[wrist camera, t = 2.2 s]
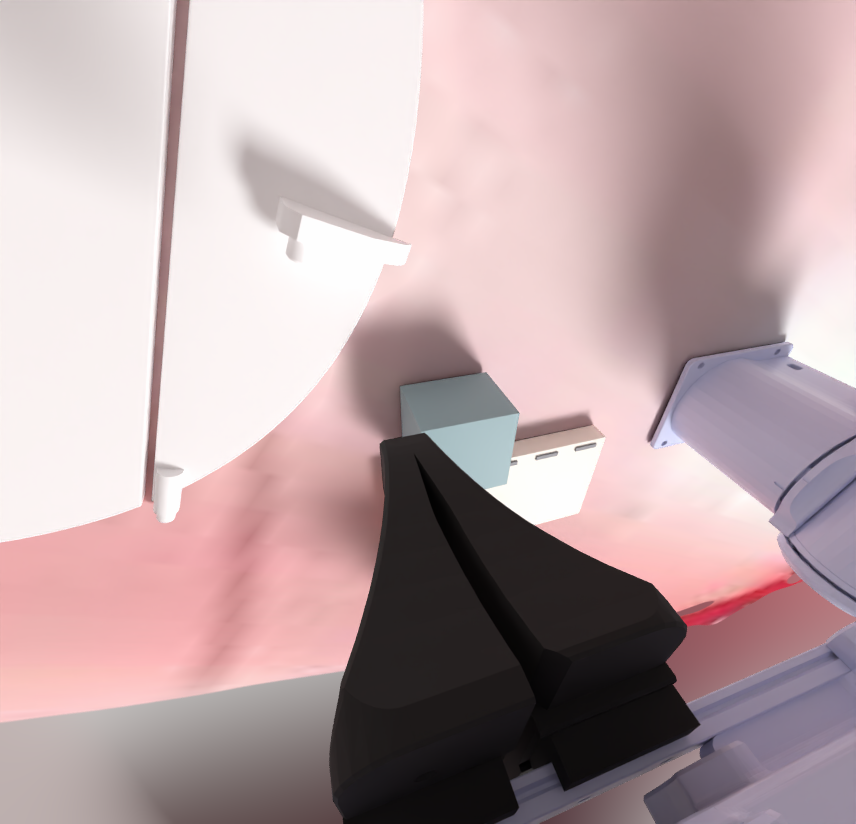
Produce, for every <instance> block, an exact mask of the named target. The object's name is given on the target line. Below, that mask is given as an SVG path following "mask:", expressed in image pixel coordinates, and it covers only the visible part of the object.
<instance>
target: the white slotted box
mask: <svg viewBox="0 0 856 824" xmlns="http://www.w3.org/2000/svg"><path fill="white" fill-rule="evenodd" d="M605 438H606V437H605V436H604V435H603V434H602V433H601V432H600V431H599V430H598V429H597V428H596V427H595V426H594V425H590V426H586V427H581V428H576V429H571V430H567V431H562V432H557V433H552V434H547V435H543V436H538V437H533V438H528V439H524V440H519V441H514V447H513V452H512V458H511V463H510V469H509V475H508V480H507V484H505V485H501V486H497V487H493V488H489V489H485V490H486V491H487V492H489V493H490V494H491V495H492V496H494V497H495V498H496V499H497V500H499V501H500V502H501V503H503V504H504V505H505V506H507V507H508V508H510V509H511V510H512V511H514V512H515V513H517V514H518V515H520V516H521V517H522V518H524V519H525V520H527V521H528V522H530V523H532V524H533V525H536V524H540V523H544V522H548V521H551V520H555V519H559V518H562V517H566V516H570V515H574V514H577V513H579V511H580V508H581V505H582V503H583V500H584V497H585V494H586V491H587V489H588V486H589V483H590V480H591V477H592V475H593V472H594V469H595V466H596V463H597V461H598V458H599V455H600V452H601V449H602V447H603V444H604V441H605Z"/></svg>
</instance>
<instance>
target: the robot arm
mask: <svg viewBox="0 0 856 824" xmlns="http://www.w3.org/2000/svg"><path fill="white" fill-rule="evenodd" d="M792 349H793V344H792V343H789V342H783V343H778V344H772V345H766V346H760V347H755V348H749V349H743V350H738V351H732V352H726V353H720V354H715V355H709V356H703V357H697V358H693V359H691V360H689V361H688V362H687V363H686V365H685V367H684V370H683V372H682V374H681V376H680V378H679V381H678V383H677V385H676V387H675V390H674V392H673V394H672V396H671V398H670V401H669V403H668V405H667V407H666V410H665V412H664V414H663V416H662V419H661V421H660V423H659V425H658V427H657V430H656V432H655V434H654V436H653V439H652V441H651V444H650V445H651V447H652V448H654V449H659V448H663V447H667V446H671V445H675V444H680V443H684V442H685V443H686V444H688V445H689V446H690V447H691V448H693V449H694V450H695V451H696V452H698V453H699V454H700V455H701V456H703V457H704V458H705V459H706V460H708V461H709V462H710V463H711V464H713V465H714V466H715V467H716V468H718V469H719V470H720V471H721V472H723V473H724V474H725V475H726V476H728V477H729V478H730V479H731V480H733V481H734V482H735V483H736V484H738V485H739V486H740V487H741V488H743V489H744V490H745V491H746V492H748V493H749V494H750V495H751V496H753V497H754V498H755V499H756V500H758V501H759V502H760V503H761V504H763V505H764V506H765V507H766V508H768V509H769V510H770V511H771V512H773V513H774V516H773V517H772V518H771V519H770V520H769V522H770V523H771V524H772V525H773V526H774V527H776V528H777V529H778V530H779V531H780V533H779V535H778V537H777V541H778V544H779V547H780V549H781V552H782V555H783V557H784V559H785V560H786V562H787V563H788V565H789V566H790V567H791V568H792V570H793V571H794V572H795V573H796V574H797V575H798V576H799V577H800V578H801V579H802V580H803V581H804V582H805V583H807V584H808V585H809V586H810V587H811V588H812V589H813V590H815V591H816V592H817V593H818V594H820V595H821V596H822V597H824V598H825V599H826V600H828V601H829V602H831V603H832V604H834V605H835V606H837V607H838V608H840V609H841V610H843V611H845V612H846V613H848V614H850V615H852V616H854V617H856V388H854V387H851V386H849V385H847V384H845V383H843V382H841V381H839V380H837V379H835V378H832V377H830V376H828V375H826V374H824V373H822V372H820V371H818V370H816V369H813V368H811V367H809V366H807V365H805V364H803V363H801V362H799V361H796V360H794V359H792V358H790V357H788V355H789V354H790V352H791V350H792ZM380 455H381V467H382V479H383V489H384V494H385V500H384V511H383V521H382V529H381V536H380V543H379V548H378V554H377V559H376V564H375V568H374V573H373V578H372V582H371V586H370V591H369V594H368V598H367V602H366V605H365V609H364V612H363V616H362V620H361V623H360V627H359V630H358V633H357V637H356V640H355V643H354V646H353V649H352V652H351V655H350V658H349V661H348V664H347V667H346V669H345V673H344V676H343V678H342V681H341V686H340V692H339V699H338V703H337V709H336V714H335V719H334V724H333V730H332V736H331V744H330V758H329V761H330V762H329V766H330V776H331V786H332V795H333V802H334V803H335V805H336V807H337V808H338V810H339V812H340V813H341V815H342V817H343V824H539V823H540V822H543V821H545V820H547V819H549V818H551V817H553V816H555V815H558V814H560V813H562V812H564V811H566V810H568V809H570V808H572V807H574V806H577V805H579V804H581V803H583V802H585V801H587V800H589V799H591V798H594V797H595V796H598V795H600V794H602V793H604V792H606V791H608V790H610V789H613V788H615V787H617V786H619V785H621V784H623V783H625V782H627V781H629V780H632V779H634V778H636V777H638V776H640V775H642V774H644V773H646V772H648V771H651V770H653V769H655V768H657V767H659V766H661V765H663V764H665V763H667V762H670V761H671V760H674V759H676V758H678V757H680V756H682V755H684V754H686V753H688V752H691V751H693V750H695V749H697V748H699V747H701V746H702V747H701V748H700V757H701V759H700V760H698V761H697V762H695V763H693V764H691V765H689V766H687V767H686V768H684V769H682V770H680V771H678V772H677V773H675V774H674V775H673V776H672V777H671V778H670V779H669V780H667V781H666V782H664V783H663V784H662V785H660V786H658V787H657V788H655V789H654V790H652V791H650V792H649V793H647V794H646V795H644V803H645V804H646V806H647V808H648V810H649V812H650V814H651V815H652V817H653V819H654V821H655V823H656V824H856V622H854V623H852V624H849V625H847V626H846V627H844V628H842V629H841V630H839V631H838V632H836V633H835V634H833V635H832V636H831V637H830V638H829V639H827V640H826V643H825V644H822V645H820V646H818V647H815V648H813V649H811V650H808V651H806V652H804V653H802V654H799V655H797V656H795V657H792V658H790V659H788V660H786V661H783V662H781V663H779V664H776V665H774V666H772V667H770V668H767V669H765V670H763V671H760V672H758V673H756V674H754V675H751V676H749V677H747V678H744V679H742V680H740V681H737V682H735V683H733V684H730V685H728V686H726V687H723V688H721V689H719V690H717V691H714V692H712V693H710V694H707V695H705V696H703V697H701V698H698V699H696V700H694V701H691V702H689V703H687V704H686V703H685V701H684V700H683V699H682V697H681V696H680V694H679V693H678V691H677V690H676V689H675V687H674V686H673V684H674V683H675V682H676V681H677V680H676V676H675V675H674V673H673V672H672V670H671V669H670V668H669V666H668V665H667V663H666V661H667V659H668V658H669V657H670V656H671V655H672V653H673V652H674V651H675V650H676V649H677V648H678V646H679V645H680V644H681V643H682V641H683V639H684V638H685V637H686V632H687V625H686V624H685V623H684V621H683V620H682V619H681V618H680V616H679V615H678V614H677V613H676V611H675V610H674V609H673V607H672V606H671V605H670V604H669V602H668V601H667V600H666V599H665V597H664V596H663V595H662V594H661V593H660V592H659V591H658V590H657V589H656V588H655V587H654V585H653V584H651V583H649V582H647V581H644V580H642V579H640V578H637V577H635V576H633V575H630V574H628V573H626V572H623V571H621V570H618V569H616V568H614V567H611V566H609V565H607V564H605V563H603V562H601V561H599V560H596V559H594V558H592V557H590V556H588V555H586V554H584V553H582V552H580V551H578V550H576V549H574V548H573V547H571V546H569V545H567V544H566V543H564V542H562V541H560V540H558V539H557V538H555V537H553V536H551V535H550V534H548V533H546V532H544V531H543V530H541V529H539V528H538V527H536V526H535V525H533V524H532V523H530V522H528V521H527V520H525V519H524V518H522V517H521V516H520V515H518V514H517V513H515V512H514V511H512V510H511V509H510V508H508V507H507V506H505V505H504V504H503V503H501V502H500V501H499V500H497V499H496V498H495V497H494V496H492V495H491V494H490V493H489V492H487V491H486V490H485V489H484V488H483V487H481V486H480V485H479V484H478V483H477V482H475V481H474V480H473V479H472V478H471V477H470V476H469V475H468V474H467V473H465V472H464V471H463V470H462V469H461V468H460V467H459V466H458V465H457V464H456V463H455V462H454V461H453V460H451V459H450V458H449V457H448V456H447V455H446V454H445V453H444V452H443V451H442V450H441V449H440V448H439V446H438V445H437V444H436V443H435V442H434V441H433V440H432V439H431V438H430V437H429V436H428V435H427V434H425V433H420V434H415V435H410V436H404V437H399V438H394V439H389V440H384V441H382V442H381V443H380Z"/></svg>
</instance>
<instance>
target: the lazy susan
mask: <svg viewBox="0 0 856 824" xmlns="http://www.w3.org/2000/svg"><path fill="white" fill-rule="evenodd" d="M176 8H177V0H0V542H6V541H12V540H17V539H23V538H28V537H33V536H38V535H43V534H47V533H52V532H56V531H60V530H65V529H69V528H73V527H76V526H80V525H84V524H88V523H91V522H95V521H98V520H101V519H105V518H108V517H111V516H114V515H117V514H120V513H123V512H126V511H129V510H131V509H134V508H137V507H140V506H141V505H142V502H143V499H144V496H145V488H146V472H147V457H148V441H149V426H150V410H151V395H152V380H153V364H154V349H155V333H156V318H157V302H158V287H159V271H160V256H161V240H162V225H163V209H164V194H165V178H166V163H167V147H168V132H169V116H170V101H171V85H172V70H173V55H174V39H175V24H176ZM422 43H423V0H190V2H189V15H188V28H187V41H186V54H185V67H184V81H183V94H182V107H181V120H180V133H179V146H178V160H177V173H176V186H175V199H174V212H173V225H172V239H171V252H170V265H169V278H168V291H167V305H166V318H165V331H164V344H163V357H162V370H161V384H160V397H159V410H158V423H157V436H156V449H155V463H154V476H153V489H152V501H154V505H153V511H154V513H155V514H157V517H156V518H157V520H158V521H159V522H161V523H168V522H171V521H173V520H174V519H175V516H176V513H177V512H178V511H179V508H180V500H181V492H182V488H184V487H186V486H188V485H190V484H192V483H194V482H196V481H197V480H199V479H201V478H203V477H205V476H207V475H208V474H210V473H212V472H214V471H215V470H217V469H219V468H220V467H222V466H223V465H225V464H227V463H228V462H230V461H231V460H233V459H234V458H236V457H237V456H239V455H240V454H242V453H243V452H245V451H246V450H247V449H249V448H250V447H251V446H253V445H254V444H255V443H257V442H258V441H259V440H260V439H262V438H263V437H264V436H265V435H267V434H268V433H269V432H270V431H271V430H273V429H274V428H275V427H276V426H277V425H278V424H279V423H280V422H281V421H283V420H284V419H285V418H286V417H287V416H288V415H289V414H290V413H291V412H292V411H293V410H294V409H295V408H296V407H297V406H298V405H299V404H300V403H301V401H302V400H303V399H304V398H305V397H306V396H307V395H308V394H309V393H310V391H311V390H312V389H313V388H314V387H315V385H316V384H317V383H318V382H319V381H320V379H321V378H322V377H323V375H324V374H325V373H326V371H327V370H328V369H329V367H330V366H331V365H332V363H333V362H334V360H335V359H336V357H337V356H338V355H339V353H340V351H341V350H342V348H343V347H344V345H345V343H346V342H347V340H348V339H349V337H350V335H351V333H352V332H353V330H354V328H355V326H356V325H357V323H358V321H359V319H360V317H361V315H362V313H363V311H364V309H365V307H366V305H367V303H368V301H369V298H370V296H371V294H372V292H373V290H374V287H375V285H376V282H377V280H378V277H379V275H380V272H381V270H382V267H383V264H391V265H398V266H400V265H404V264H405V262H406V259H407V257H408V254H409V251H410V248H411V244H409V243H406V242H403V241H401V240H398V239H395V238H393V234H394V231H395V228H396V224H397V220H398V216H399V212H400V209H401V205H402V201H403V196H404V191H405V187H406V182H407V178H408V172H409V167H410V161H411V155H412V149H413V142H414V135H415V128H416V121H417V111H418V102H419V92H420V78H421V64H422Z"/></svg>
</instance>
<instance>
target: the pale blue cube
mask: <svg viewBox="0 0 856 824" xmlns="http://www.w3.org/2000/svg"><path fill="white" fill-rule="evenodd" d="M400 398H401V422H402V437H404V436H410V435H415V434H420V433H425V434H427V435H428V436H429V437H430V438H431V439H432V440H433V441H434V442H435V443H436V444H437V445H438V446H439V448H440V449H441V450H442V451H443V452H444V453H445V454H446V455H447V456H448V457H449V458H450V459H451V460H453V461H454V462H455V463H456V464H457V465H458V466H459V467H460V468H461V469H462V470H463V471H464V472H465V473H467V474H468V475H469V476H470V477H471V478H472V479H473V480H474V481H475V482H477V483H478V484H479V485H480V486H481V487H483V488H484V489H489V488H493V487H497V486H501V485H505V484H507V480H508V475H509V469H510V463H511V458H512V452H513V447H514V441H515V436H516V430H517V424H518V419H519V412H518V410H517V409H516V408H515V407H514V406H513V404H512V403H511V402H510V401H509V400H508V398H507V397H506V396H505V395H504V393H503V392H502V391H501V390H500V389H499V387H498V386H497V385H496V384H495V382H494V381H493V380H492V379H491V378H490V376H489V375H488V374H487V373H486V372H485V373H479V374H473V375H466V376H460V377H454V378H448V379H441V380H435V381H429V382H423V383H416V384H410V385H404V386H400Z"/></svg>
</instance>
